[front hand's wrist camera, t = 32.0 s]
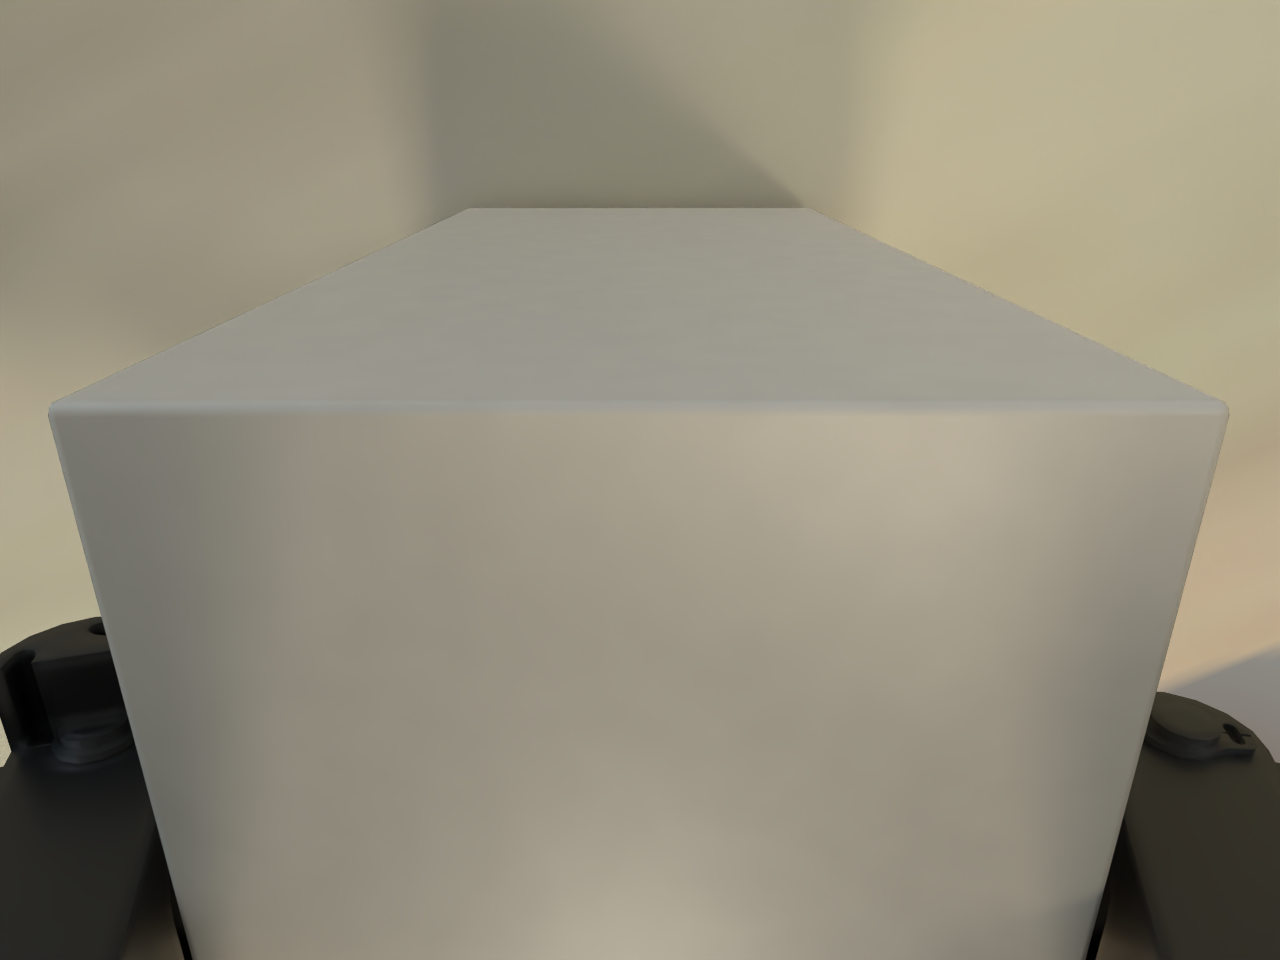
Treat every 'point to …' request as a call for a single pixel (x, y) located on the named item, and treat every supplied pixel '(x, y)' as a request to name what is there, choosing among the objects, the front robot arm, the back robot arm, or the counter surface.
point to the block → (638, 598)
